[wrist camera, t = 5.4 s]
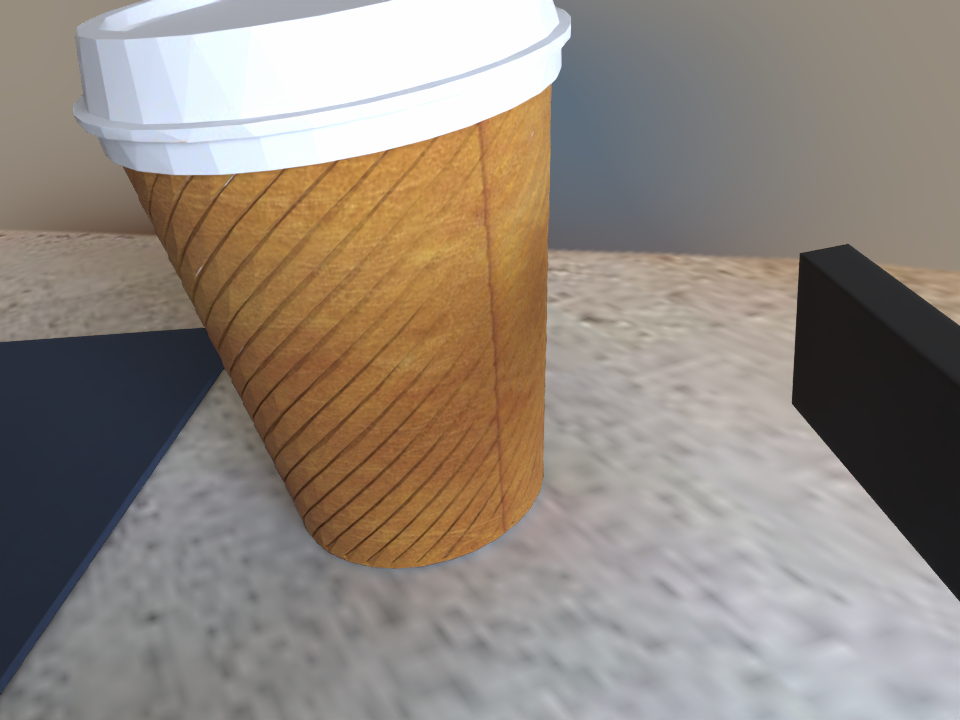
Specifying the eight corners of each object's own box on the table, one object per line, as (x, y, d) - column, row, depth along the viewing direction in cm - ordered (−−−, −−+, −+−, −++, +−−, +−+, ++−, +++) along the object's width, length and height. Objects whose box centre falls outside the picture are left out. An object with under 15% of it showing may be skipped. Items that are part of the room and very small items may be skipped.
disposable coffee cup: (232, 434, 25) (78, 3, 19) (535, 351, 27) (482, -71, 21) (247, 685, 17) (-8, 83, 11) (677, 546, 19) (658, -47, 13)
